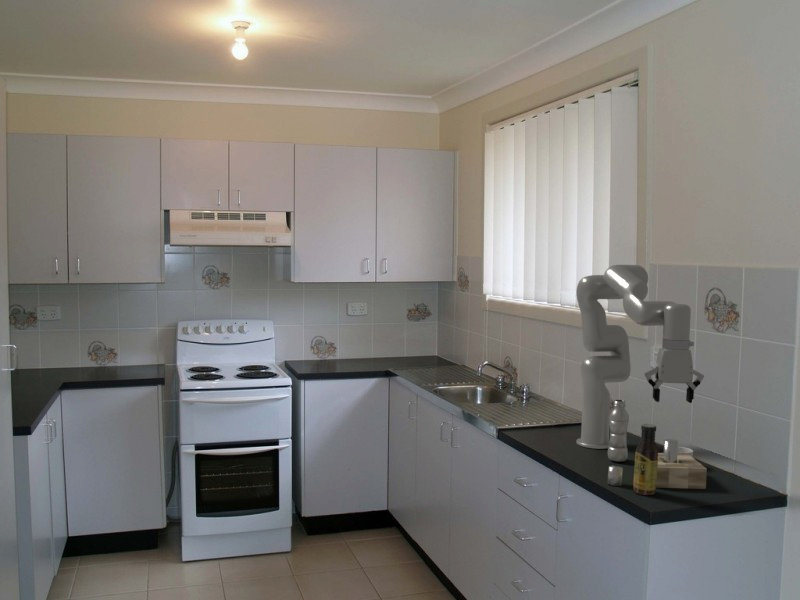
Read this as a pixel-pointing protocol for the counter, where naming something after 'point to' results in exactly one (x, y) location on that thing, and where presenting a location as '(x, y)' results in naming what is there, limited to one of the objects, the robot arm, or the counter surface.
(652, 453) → the sauce bottle
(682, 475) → the hole block
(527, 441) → the counter surface
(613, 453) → the plastic bottle
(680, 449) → the teacup
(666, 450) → the long pin
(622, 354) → the robot arm
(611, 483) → the short pin
